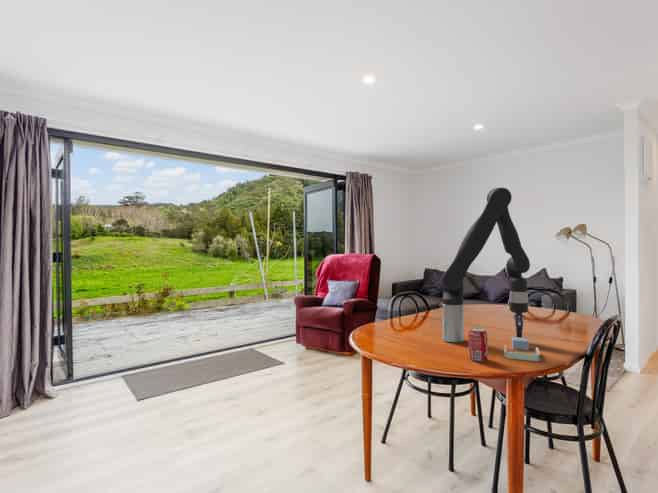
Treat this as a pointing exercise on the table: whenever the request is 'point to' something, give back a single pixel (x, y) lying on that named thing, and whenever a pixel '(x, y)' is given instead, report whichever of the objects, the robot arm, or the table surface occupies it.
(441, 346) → the table surface
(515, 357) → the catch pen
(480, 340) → the soda can
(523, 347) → the pale blue cube
